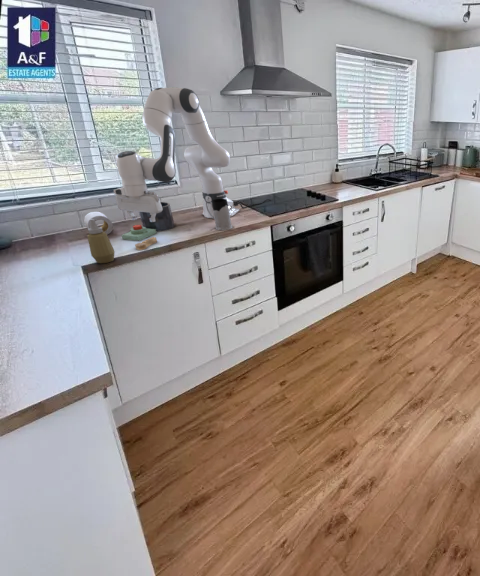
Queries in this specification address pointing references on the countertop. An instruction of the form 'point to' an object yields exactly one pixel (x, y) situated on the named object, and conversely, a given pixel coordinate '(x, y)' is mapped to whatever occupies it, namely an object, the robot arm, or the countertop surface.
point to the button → (137, 227)
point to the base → (138, 234)
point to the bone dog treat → (145, 243)
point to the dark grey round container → (159, 219)
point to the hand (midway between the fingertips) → (143, 220)
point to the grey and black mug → (221, 214)
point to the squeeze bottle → (99, 244)
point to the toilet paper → (96, 216)
